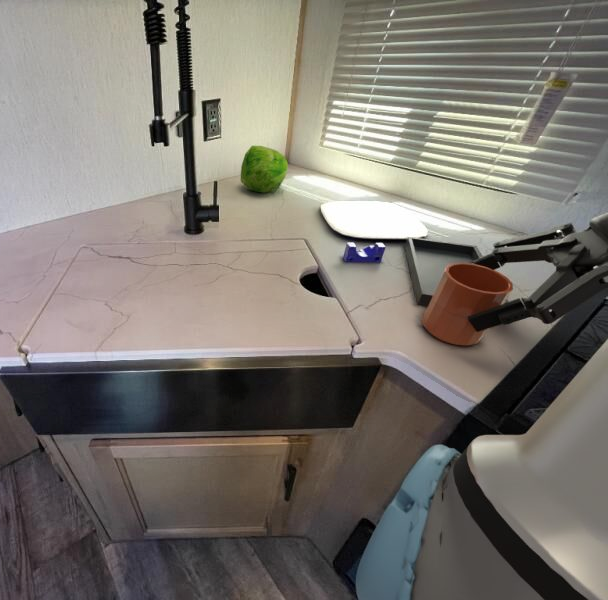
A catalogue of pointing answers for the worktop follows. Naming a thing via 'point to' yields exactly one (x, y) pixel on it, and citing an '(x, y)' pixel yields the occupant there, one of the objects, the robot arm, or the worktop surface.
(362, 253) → the cable holder
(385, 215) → the plate
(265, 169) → the lettuce
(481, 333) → the terracotta plant pot
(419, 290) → the tray
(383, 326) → the worktop surface
